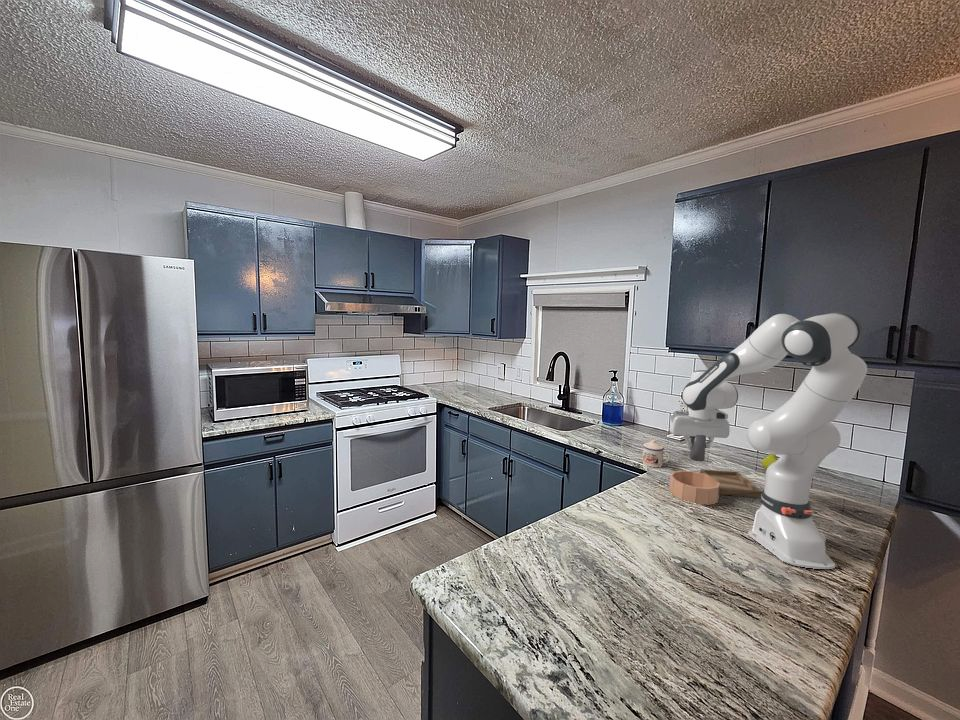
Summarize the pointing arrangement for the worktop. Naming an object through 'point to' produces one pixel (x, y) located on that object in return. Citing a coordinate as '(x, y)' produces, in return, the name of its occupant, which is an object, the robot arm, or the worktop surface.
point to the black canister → (698, 448)
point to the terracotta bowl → (694, 487)
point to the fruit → (769, 460)
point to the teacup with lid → (653, 454)
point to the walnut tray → (733, 483)
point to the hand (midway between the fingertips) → (697, 447)
